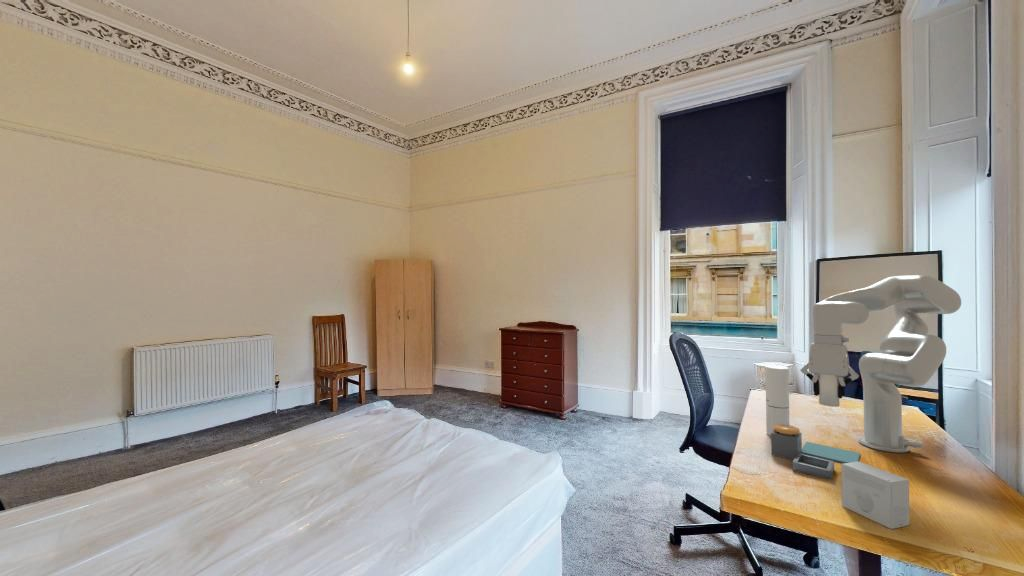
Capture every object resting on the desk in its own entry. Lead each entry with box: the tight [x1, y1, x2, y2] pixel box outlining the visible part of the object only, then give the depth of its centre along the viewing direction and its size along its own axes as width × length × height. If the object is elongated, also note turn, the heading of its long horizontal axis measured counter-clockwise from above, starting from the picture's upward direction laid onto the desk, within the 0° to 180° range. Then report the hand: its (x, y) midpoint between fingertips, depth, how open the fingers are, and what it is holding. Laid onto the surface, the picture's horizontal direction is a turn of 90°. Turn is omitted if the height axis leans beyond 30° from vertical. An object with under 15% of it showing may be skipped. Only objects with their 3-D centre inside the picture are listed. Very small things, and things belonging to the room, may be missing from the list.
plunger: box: [773, 424, 801, 436], centre depth 128 cm, size 7×7×5 cm
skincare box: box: [840, 460, 911, 530], centre depth 93 cm, size 10×6×10 cm, turn 17°
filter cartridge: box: [818, 374, 841, 408], centre depth 128 cm, size 5×5×11 cm
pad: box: [802, 441, 861, 464], centre depth 128 cm, size 14×12×1 cm
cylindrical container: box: [765, 364, 791, 436], centre depth 145 cm, size 7×7×25 cm
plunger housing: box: [770, 430, 803, 461], centre depth 128 cm, size 7×7×7 cm
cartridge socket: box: [791, 453, 835, 481], centre depth 116 cm, size 9×9×2 cm
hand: (828, 395), depth 128 cm, fingers closed on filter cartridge, 5 cm apart
